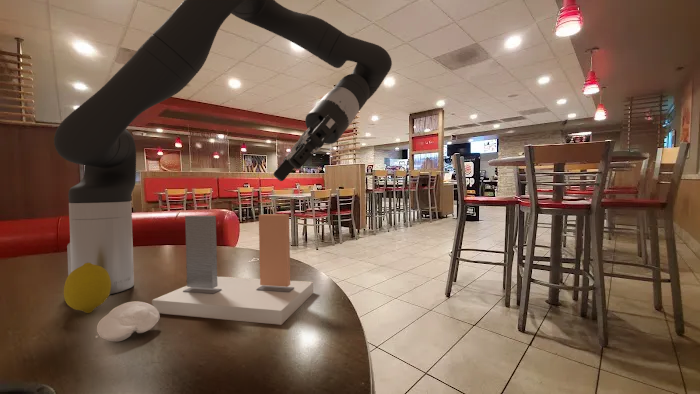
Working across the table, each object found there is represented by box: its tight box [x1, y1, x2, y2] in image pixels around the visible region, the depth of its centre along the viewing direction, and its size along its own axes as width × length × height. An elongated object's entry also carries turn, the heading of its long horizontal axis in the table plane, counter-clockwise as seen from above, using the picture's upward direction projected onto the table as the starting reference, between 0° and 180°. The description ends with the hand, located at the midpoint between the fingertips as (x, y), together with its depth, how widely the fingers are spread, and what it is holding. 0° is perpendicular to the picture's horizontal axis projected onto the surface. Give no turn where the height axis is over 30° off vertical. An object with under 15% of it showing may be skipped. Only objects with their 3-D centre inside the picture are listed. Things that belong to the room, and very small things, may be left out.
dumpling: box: [95, 300, 161, 342], centre depth 38 cm, size 7×5×4 cm
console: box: [151, 275, 314, 326], centre depth 49 cm, size 22×13×2 cm, turn 77°
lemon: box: [63, 263, 111, 314], centre depth 45 cm, size 6×6×8 cm
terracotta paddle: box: [258, 213, 291, 287], centre depth 49 cm, size 5×1×12 cm, turn 77°
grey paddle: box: [184, 215, 218, 288], centre depth 49 cm, size 5×1×12 cm, turn 77°
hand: (284, 172), depth 50 cm, fingers open, 8 cm apart
